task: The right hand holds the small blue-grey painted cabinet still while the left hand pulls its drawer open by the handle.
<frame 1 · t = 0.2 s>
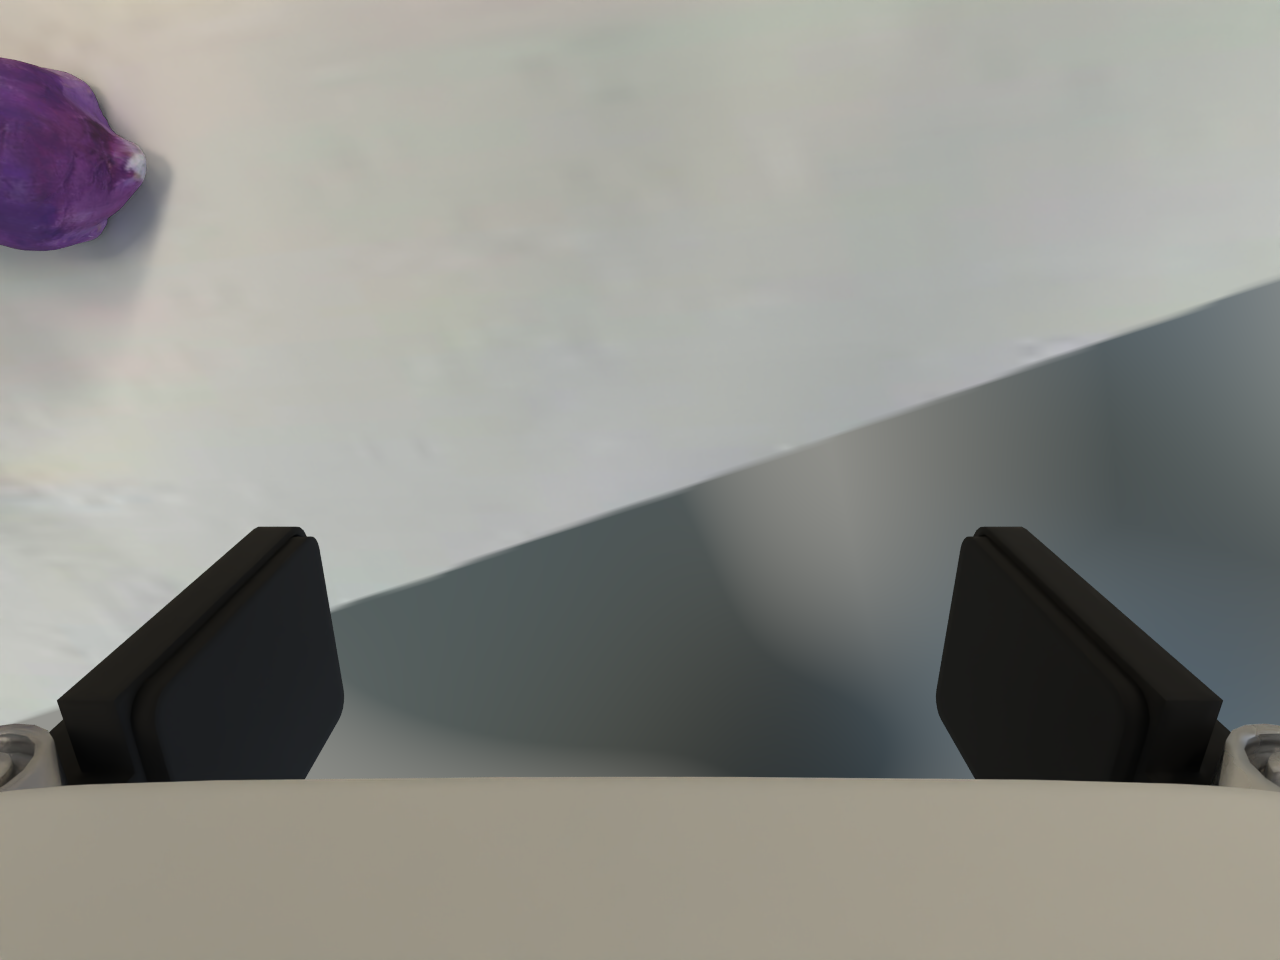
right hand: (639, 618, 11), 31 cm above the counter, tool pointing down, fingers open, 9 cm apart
figurine: (43, 165, 37), on the counter
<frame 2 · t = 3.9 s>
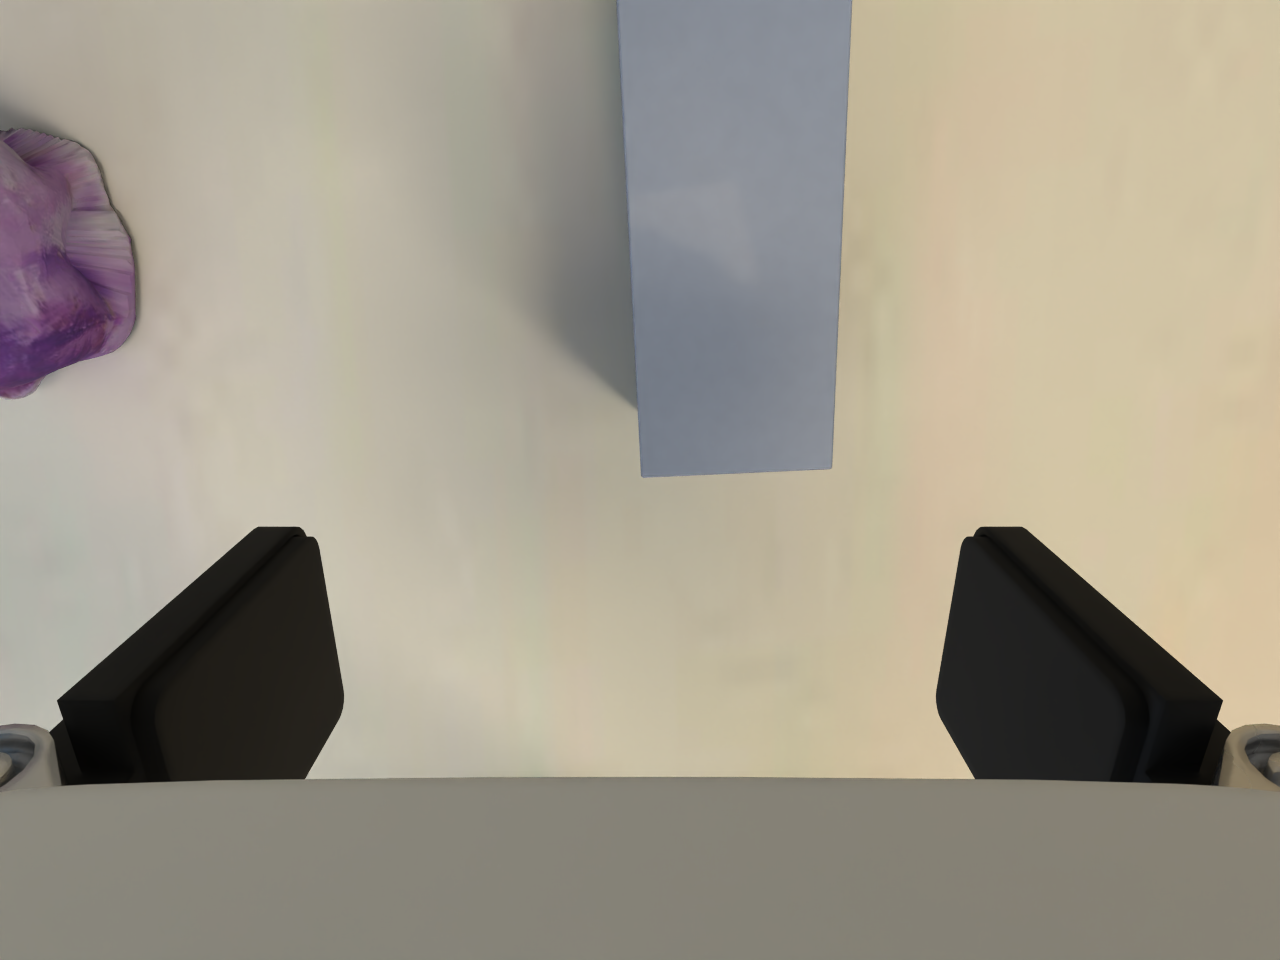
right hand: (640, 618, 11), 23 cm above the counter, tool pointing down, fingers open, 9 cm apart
figurine: (40, 241, 31), on the counter
cabinet: (711, 222, 31), on the counter
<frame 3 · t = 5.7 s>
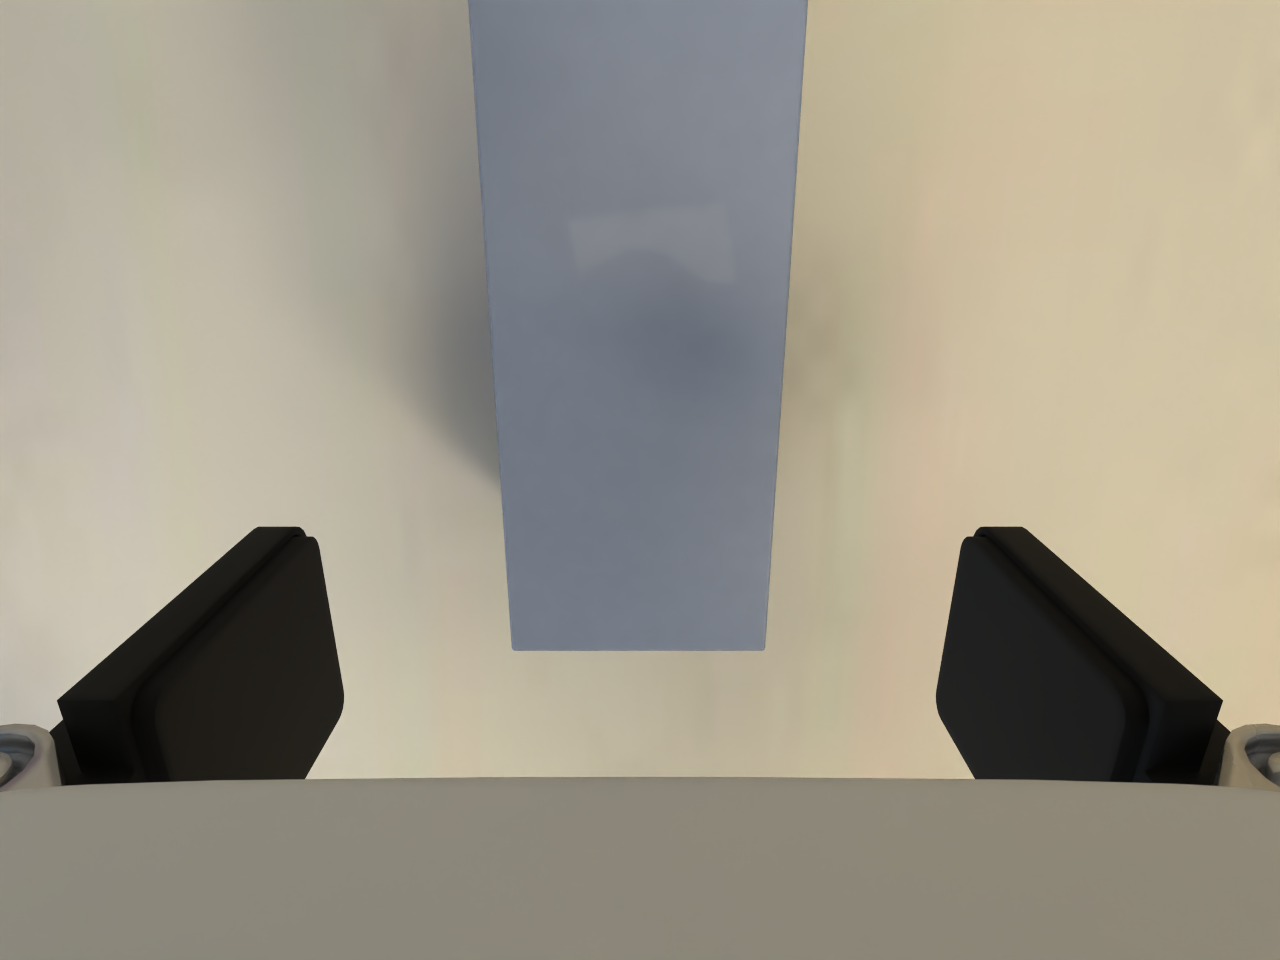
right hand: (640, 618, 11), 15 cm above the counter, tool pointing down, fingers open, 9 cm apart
cabinet: (638, 300, 25), on the counter
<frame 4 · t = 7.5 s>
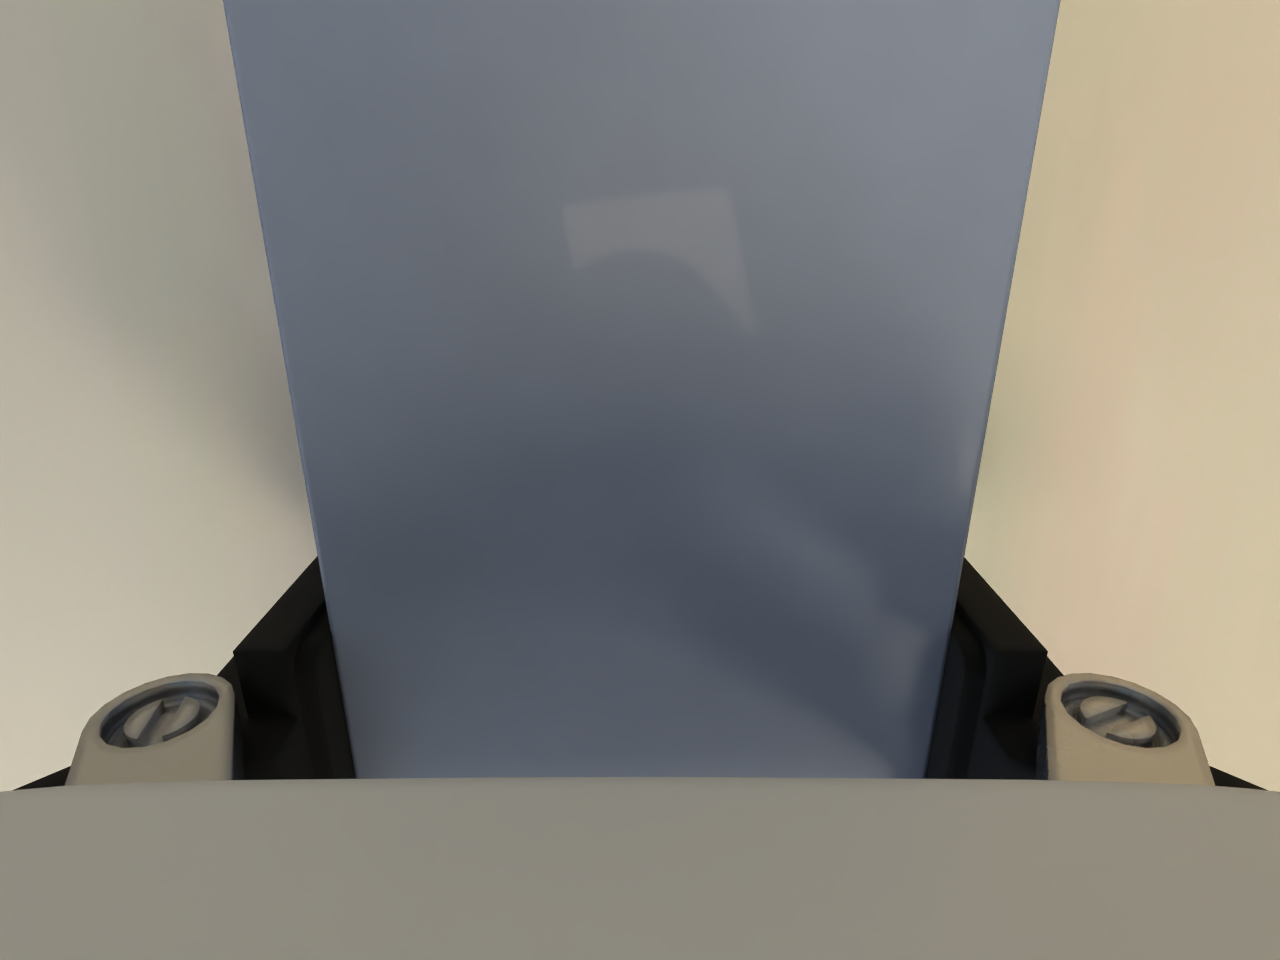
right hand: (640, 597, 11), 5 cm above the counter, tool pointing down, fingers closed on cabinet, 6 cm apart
cabinet: (640, 333, 15), on the counter, touching right hand
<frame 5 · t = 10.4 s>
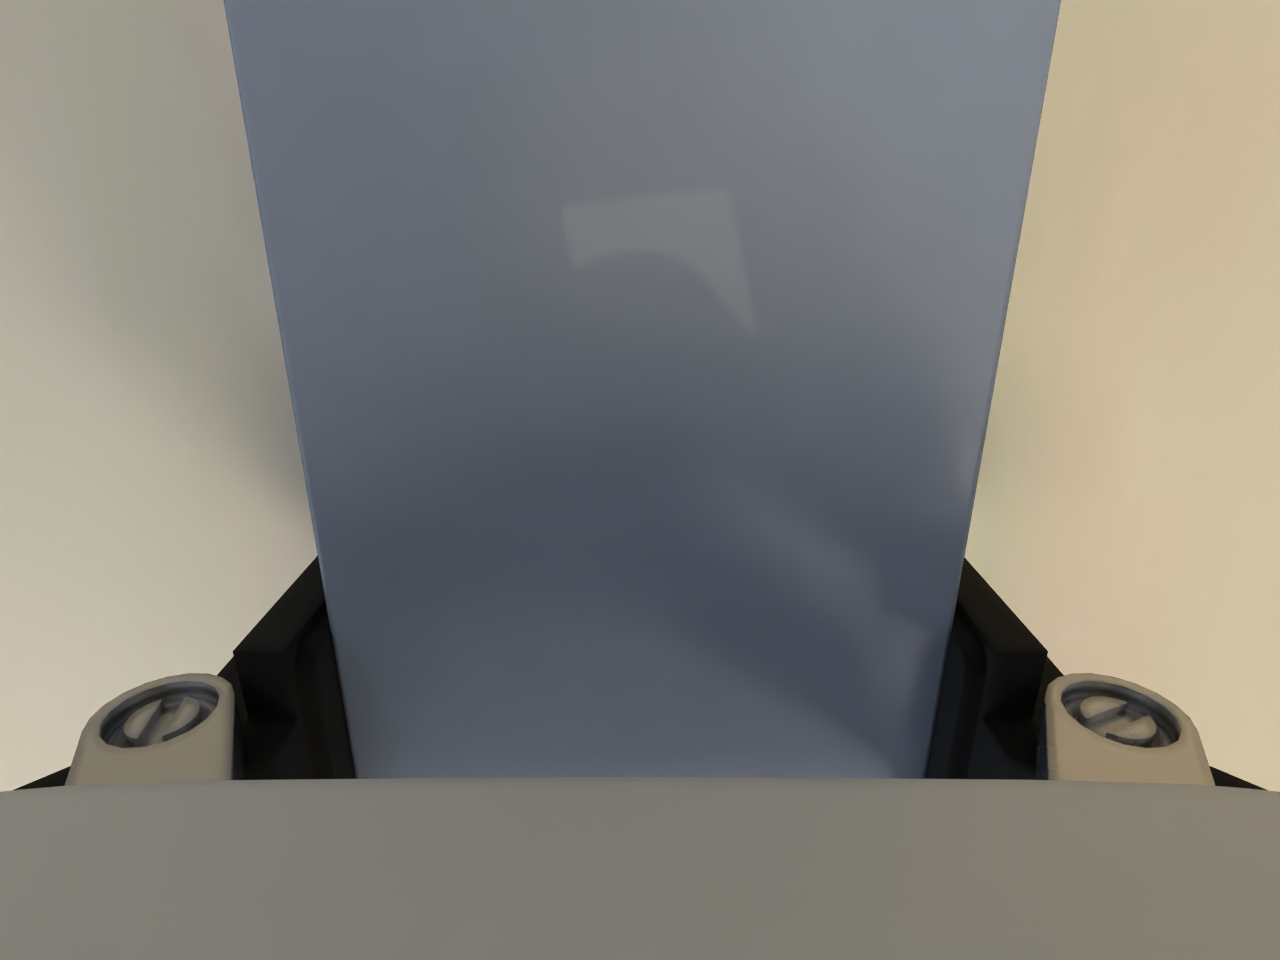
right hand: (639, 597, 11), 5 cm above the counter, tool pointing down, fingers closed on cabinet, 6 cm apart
cabinet: (640, 333, 15), on the counter, touching right hand
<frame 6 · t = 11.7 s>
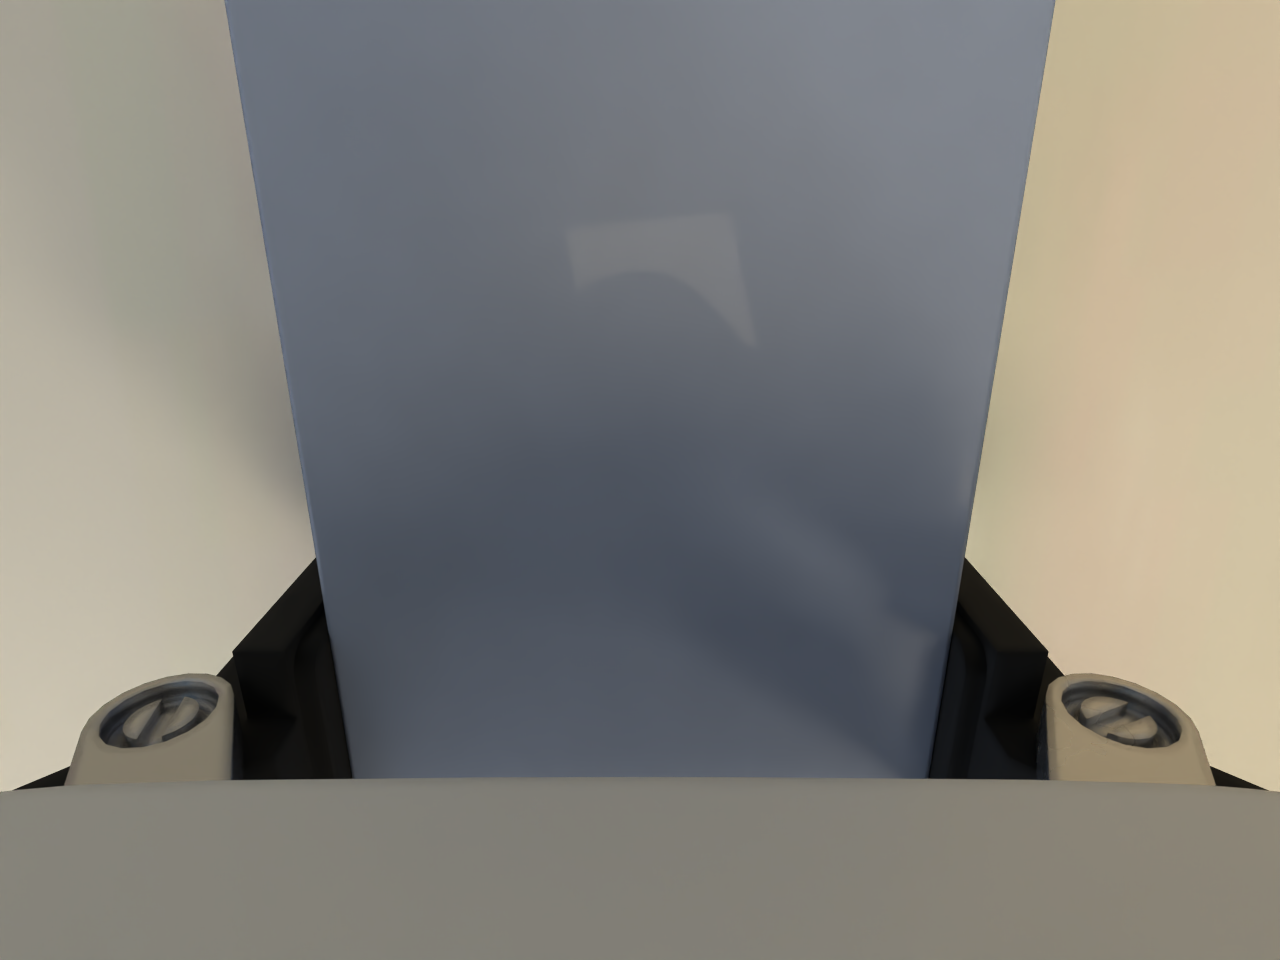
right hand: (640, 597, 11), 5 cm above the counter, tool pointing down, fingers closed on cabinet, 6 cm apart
cabinet: (640, 336, 15), on the counter, touching right hand
when the right hand's fingers open (5 cm above the counter, at t = 13.2 s): cabinet stays where it is, on the counter.
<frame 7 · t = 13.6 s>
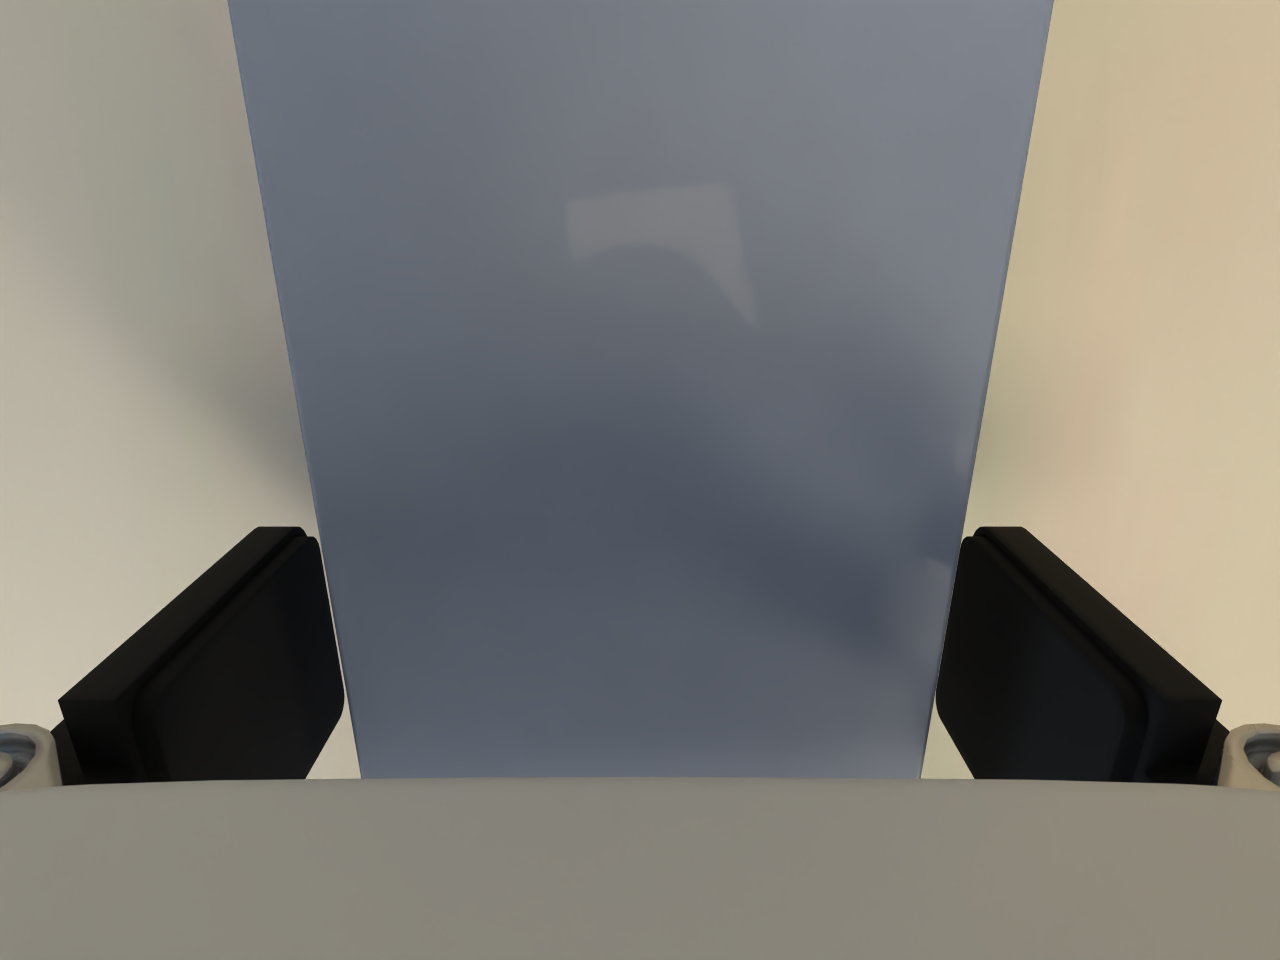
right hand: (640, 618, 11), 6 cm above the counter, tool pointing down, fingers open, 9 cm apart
cabinet: (640, 320, 15), on the counter
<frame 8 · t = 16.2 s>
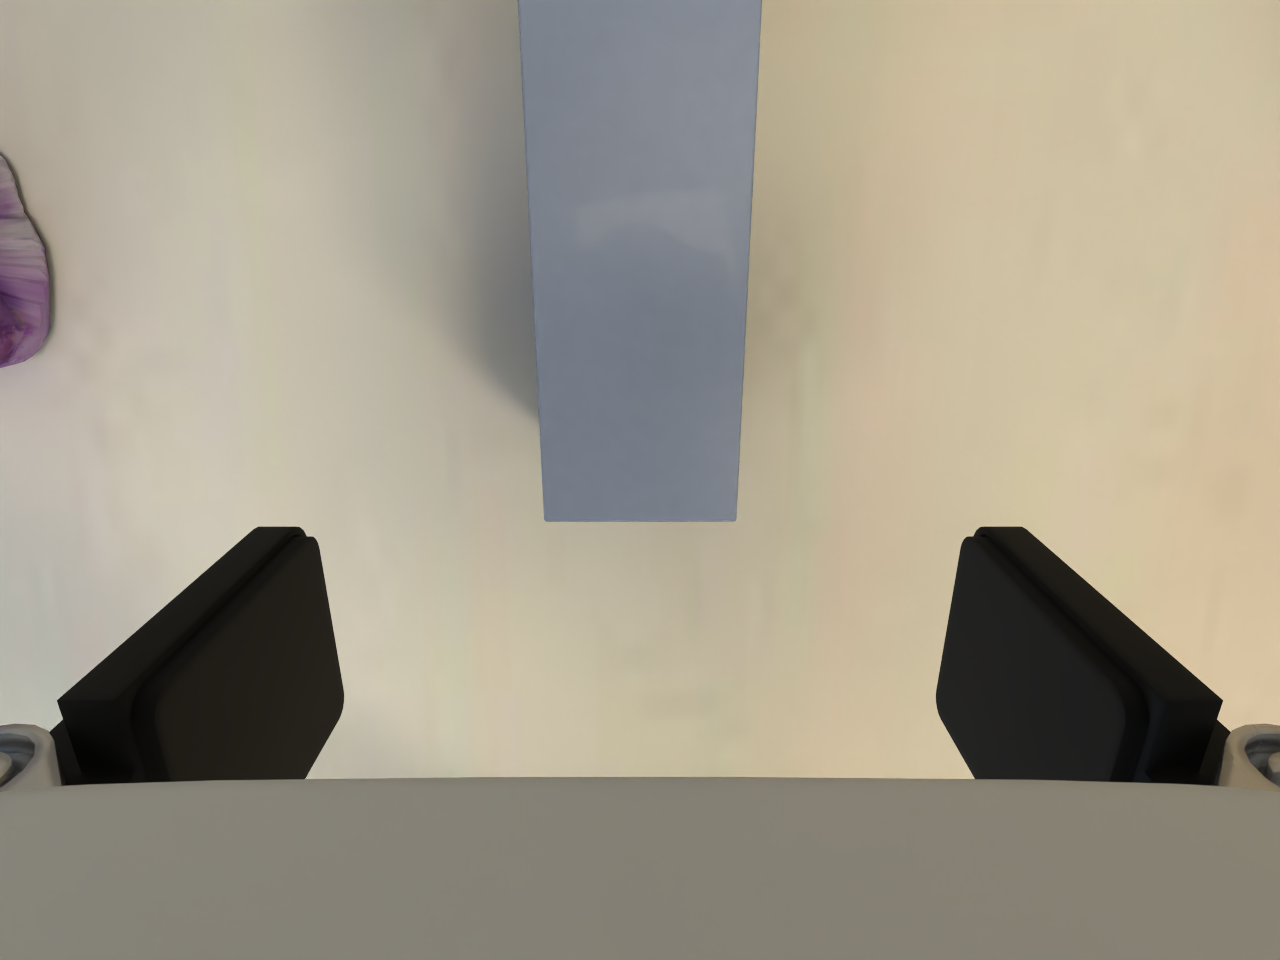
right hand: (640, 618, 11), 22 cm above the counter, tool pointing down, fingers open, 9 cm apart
cabinet: (640, 260, 31), on the counter
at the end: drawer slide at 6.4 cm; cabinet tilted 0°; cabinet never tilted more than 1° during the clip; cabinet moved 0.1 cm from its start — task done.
